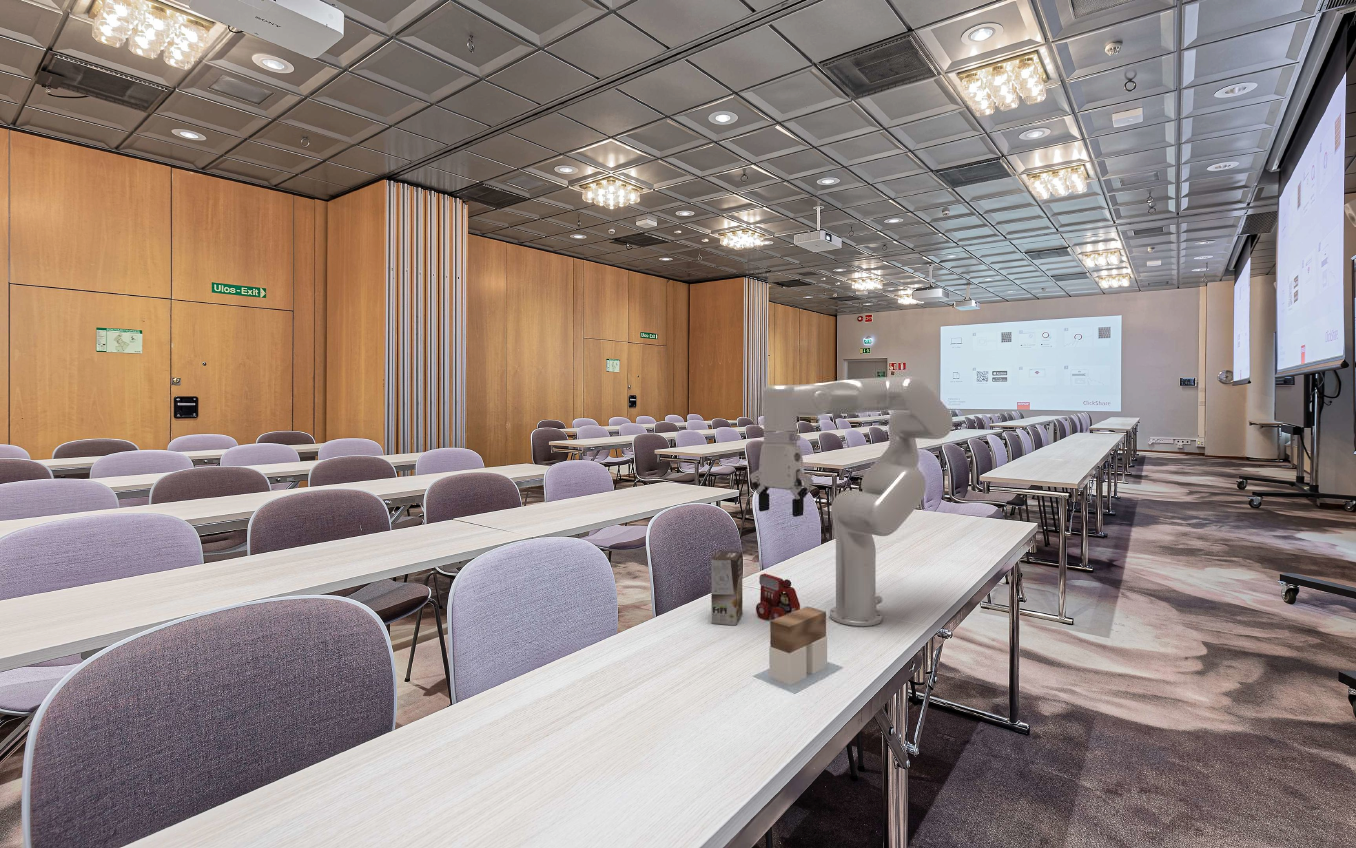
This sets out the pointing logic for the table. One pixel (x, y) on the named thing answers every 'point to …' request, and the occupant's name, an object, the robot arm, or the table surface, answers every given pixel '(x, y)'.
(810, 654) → the cream pillar
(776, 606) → the toy fire truck
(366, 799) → the table surface
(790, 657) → the cream pillar
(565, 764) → the table surface
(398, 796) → the table surface
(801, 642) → the walnut beam
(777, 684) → the slate board
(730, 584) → the coffee box
